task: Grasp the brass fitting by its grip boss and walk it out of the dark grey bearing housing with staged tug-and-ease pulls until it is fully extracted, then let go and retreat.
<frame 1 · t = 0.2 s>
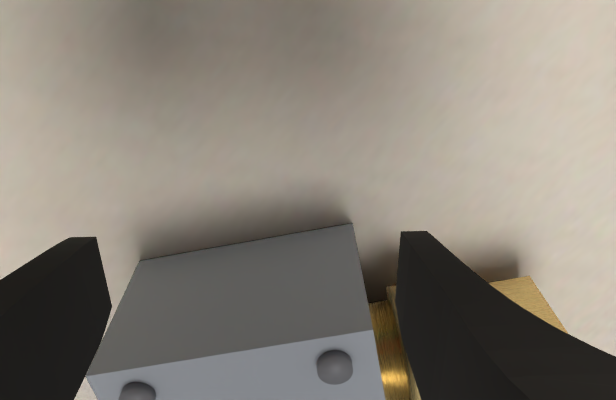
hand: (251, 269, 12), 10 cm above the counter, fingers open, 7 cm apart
housing: (367, 308, 26), on the counter
brass fitting: (393, 353, 23), point 3 cm above the counter, slide at 0.0 cm
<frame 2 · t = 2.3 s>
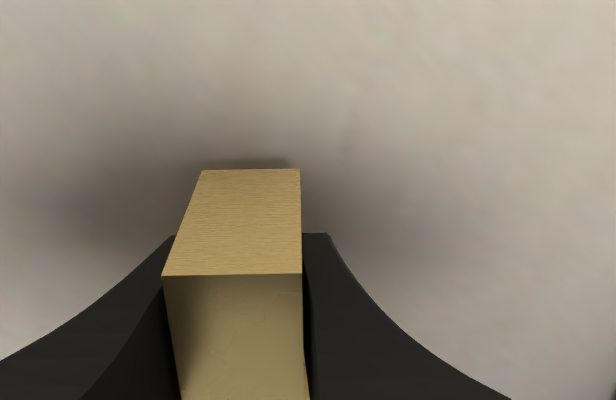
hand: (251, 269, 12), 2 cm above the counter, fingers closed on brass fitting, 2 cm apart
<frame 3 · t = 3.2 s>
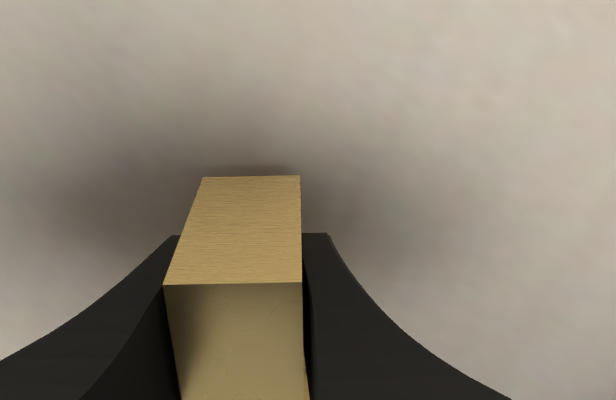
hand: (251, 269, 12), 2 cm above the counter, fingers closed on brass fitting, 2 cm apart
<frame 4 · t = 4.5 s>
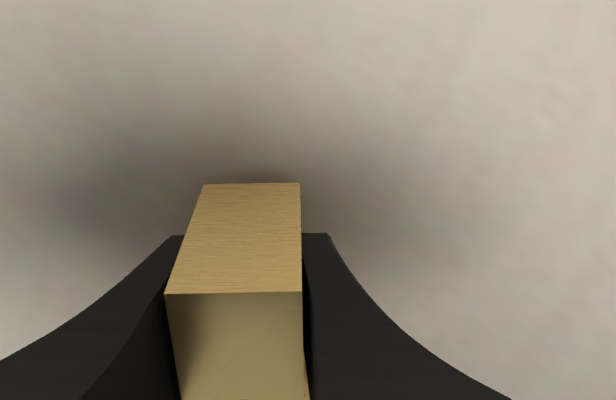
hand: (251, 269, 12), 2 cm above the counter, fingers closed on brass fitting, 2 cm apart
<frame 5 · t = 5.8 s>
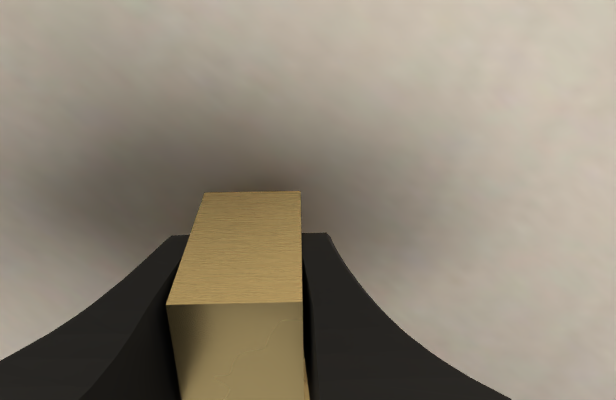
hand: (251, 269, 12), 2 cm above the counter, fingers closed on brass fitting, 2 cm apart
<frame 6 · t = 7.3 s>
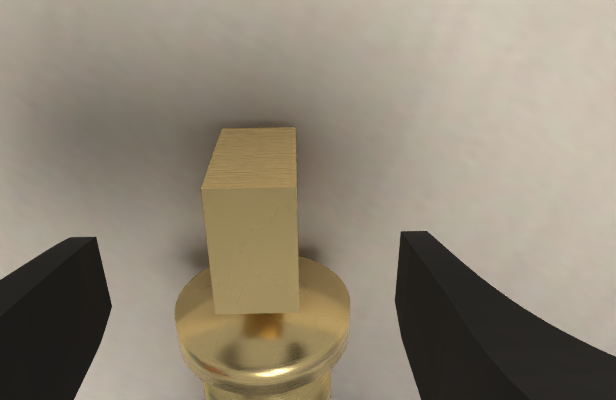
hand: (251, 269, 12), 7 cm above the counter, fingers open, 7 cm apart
brass fitting: (265, 333, 18), point 3 cm above the counter, slide at 7.4 cm
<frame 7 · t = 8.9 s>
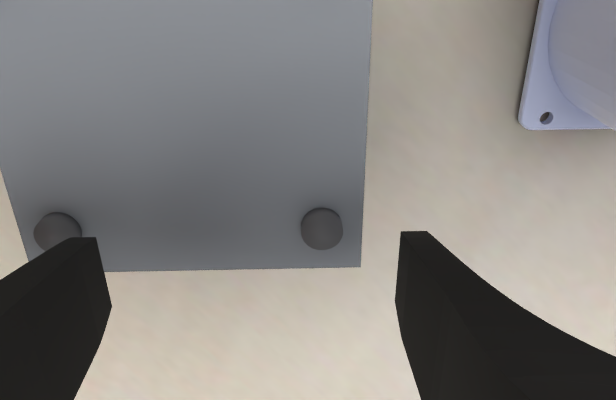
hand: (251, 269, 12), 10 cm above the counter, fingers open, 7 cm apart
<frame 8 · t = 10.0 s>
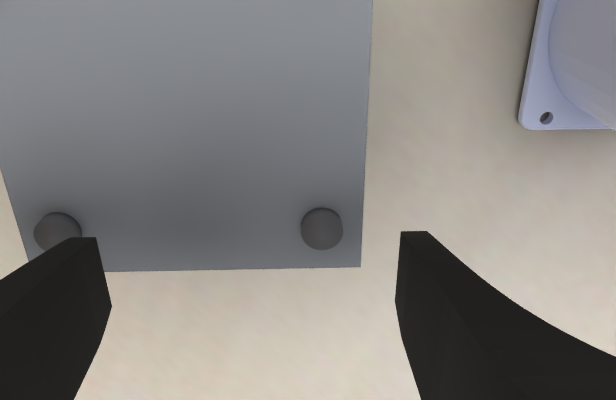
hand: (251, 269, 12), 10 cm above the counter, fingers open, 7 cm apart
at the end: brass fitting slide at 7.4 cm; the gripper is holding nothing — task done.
